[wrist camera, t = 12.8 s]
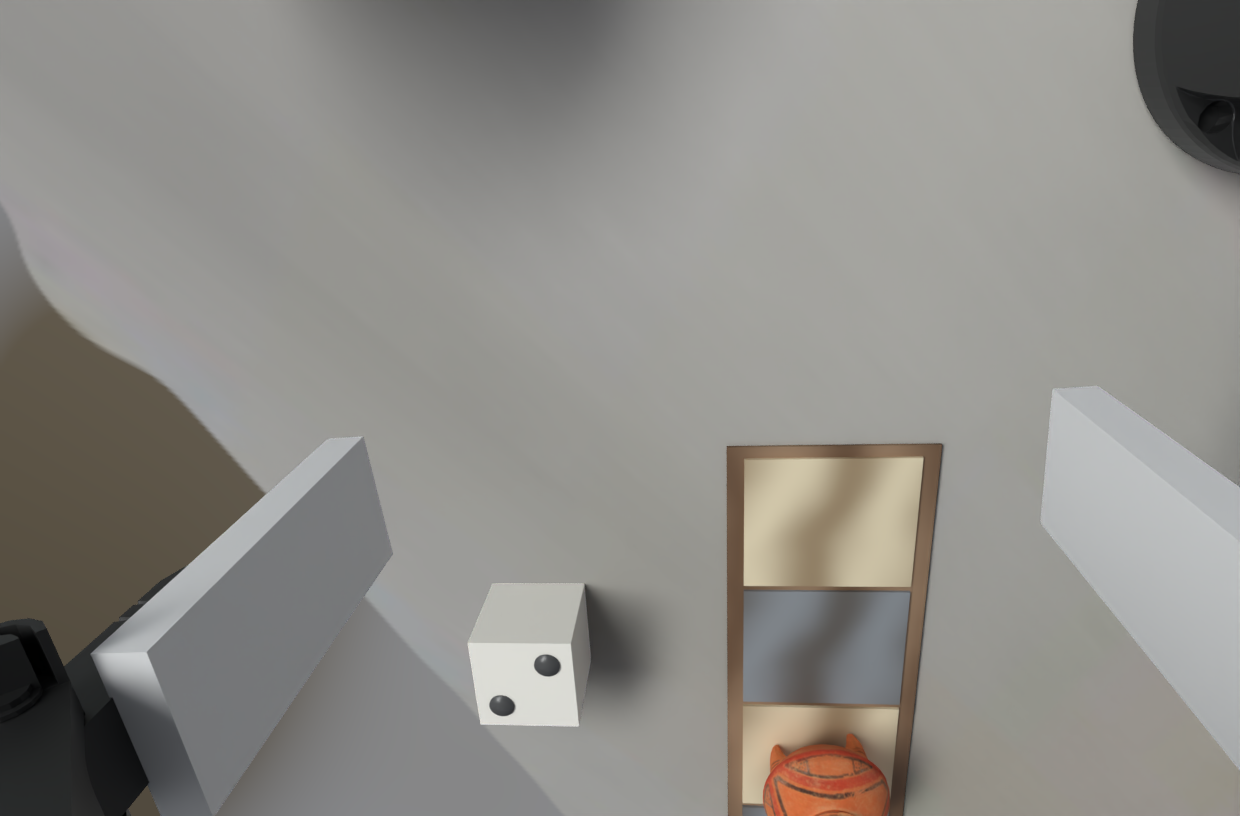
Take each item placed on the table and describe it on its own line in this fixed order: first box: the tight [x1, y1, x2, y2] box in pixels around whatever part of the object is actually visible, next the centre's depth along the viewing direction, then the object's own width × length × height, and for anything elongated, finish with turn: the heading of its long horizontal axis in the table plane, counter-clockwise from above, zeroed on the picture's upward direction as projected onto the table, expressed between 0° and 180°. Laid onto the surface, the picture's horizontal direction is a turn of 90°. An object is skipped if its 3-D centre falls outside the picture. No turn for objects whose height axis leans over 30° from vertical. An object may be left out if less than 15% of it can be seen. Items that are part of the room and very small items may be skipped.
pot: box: [763, 734, 890, 816], centre depth 50 cm, size 8×8×7 cm
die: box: [468, 583, 591, 726], centre depth 48 cm, size 6×6×6 cm
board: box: [727, 444, 942, 816], centre depth 51 cm, size 12×37×1 cm, turn 3°
